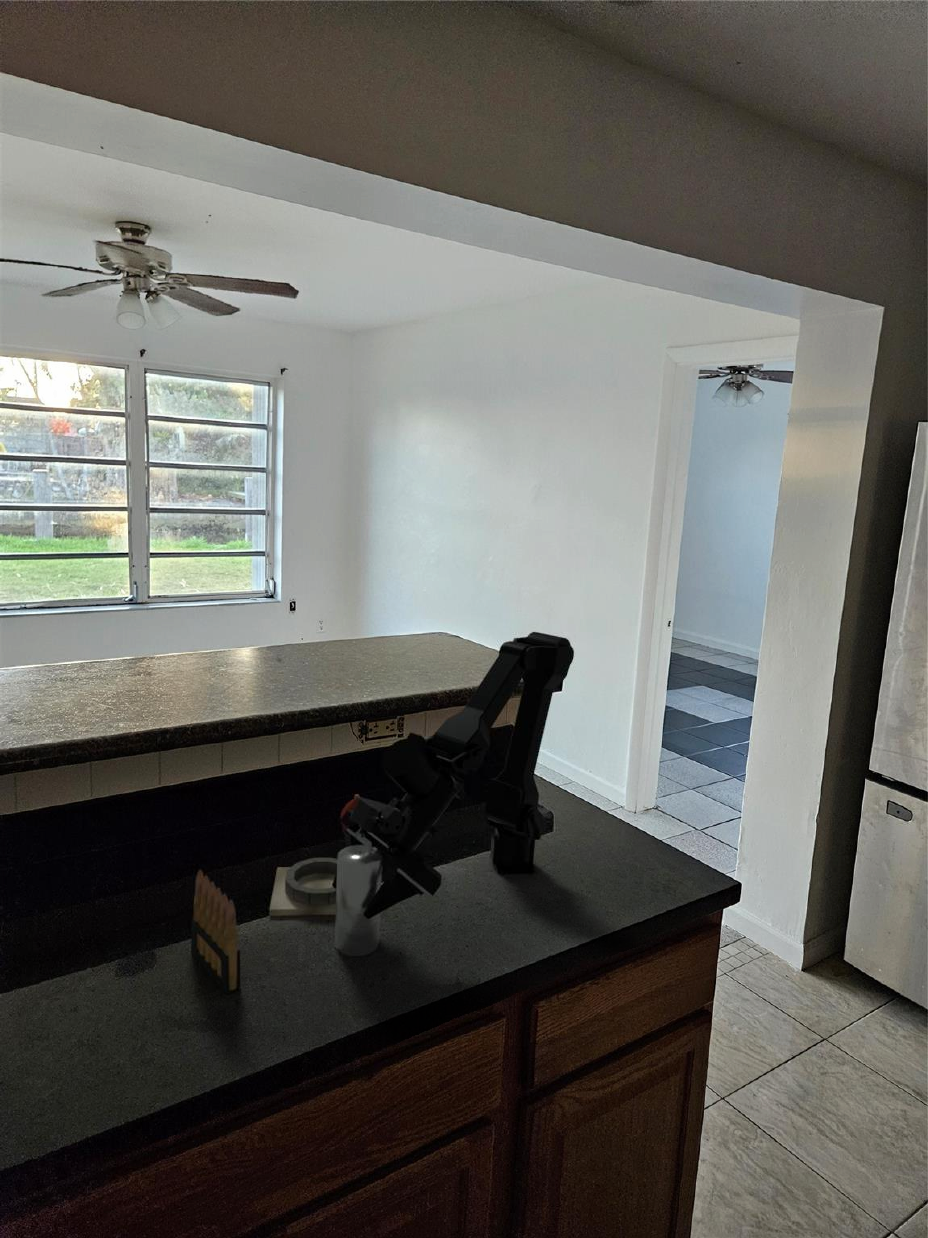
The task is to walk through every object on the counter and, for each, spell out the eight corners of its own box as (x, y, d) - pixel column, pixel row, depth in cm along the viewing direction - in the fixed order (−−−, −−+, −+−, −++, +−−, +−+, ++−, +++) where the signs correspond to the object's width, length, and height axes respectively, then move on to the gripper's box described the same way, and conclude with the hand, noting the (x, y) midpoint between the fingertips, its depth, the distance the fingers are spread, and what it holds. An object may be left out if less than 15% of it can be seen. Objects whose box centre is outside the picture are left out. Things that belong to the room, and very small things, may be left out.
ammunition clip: (241, 989, 97) (241, 901, 95) (226, 995, 96) (227, 906, 94) (204, 947, 105) (203, 864, 103) (190, 952, 104) (190, 869, 101)
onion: (376, 831, 140) (378, 789, 139) (369, 846, 135) (371, 803, 133) (344, 828, 141) (346, 786, 139) (336, 843, 135) (337, 800, 134)
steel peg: (378, 929, 111) (381, 844, 109) (379, 955, 105) (383, 866, 103) (335, 930, 110) (338, 845, 108) (334, 957, 104) (337, 867, 102)
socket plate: (366, 872, 126) (367, 854, 126) (367, 914, 115) (368, 895, 114) (277, 873, 124) (277, 855, 124) (269, 916, 113) (269, 897, 112)
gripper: (353, 755, 113) (280, 845, 108) (427, 803, 99) (347, 909, 94) (397, 795, 119) (330, 881, 115) (473, 845, 105) (400, 946, 100)
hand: (349, 902), depth 106 cm, fingers open, 8 cm apart
